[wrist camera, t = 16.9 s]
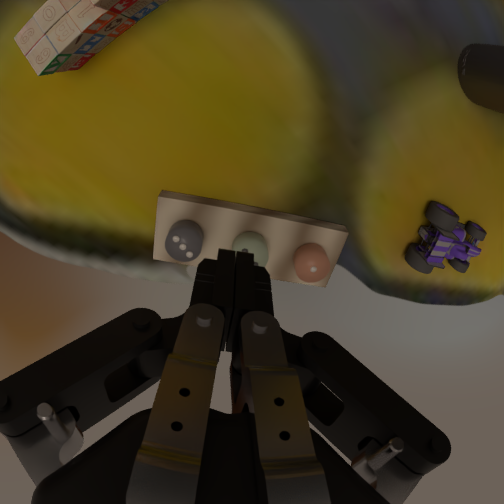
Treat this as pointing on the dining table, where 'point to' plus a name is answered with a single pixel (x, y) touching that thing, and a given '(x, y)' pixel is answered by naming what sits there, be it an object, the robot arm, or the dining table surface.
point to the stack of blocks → (76, 30)
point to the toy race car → (444, 241)
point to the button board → (247, 220)
